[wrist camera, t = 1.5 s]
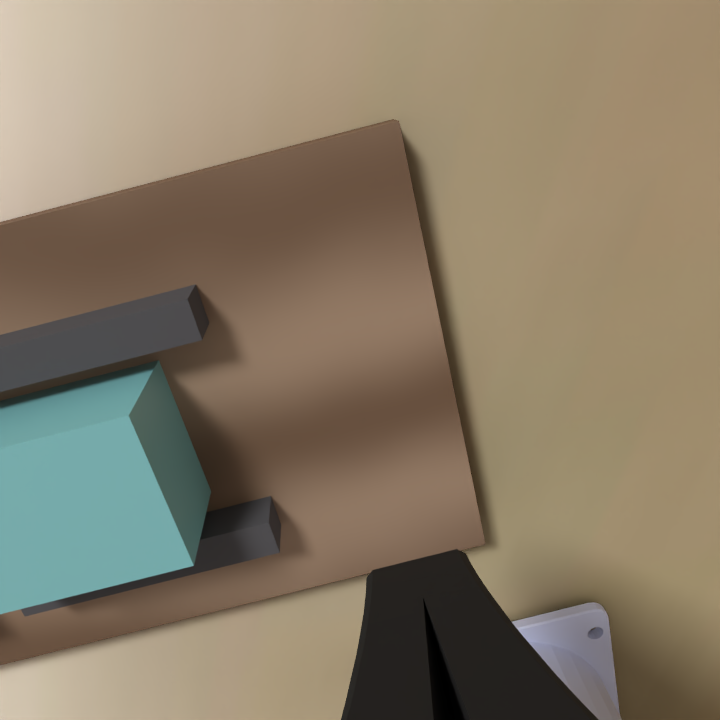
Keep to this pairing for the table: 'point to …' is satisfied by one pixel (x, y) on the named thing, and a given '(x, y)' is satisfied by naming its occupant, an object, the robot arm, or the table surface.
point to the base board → (269, 364)
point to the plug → (96, 487)
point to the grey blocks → (121, 342)
